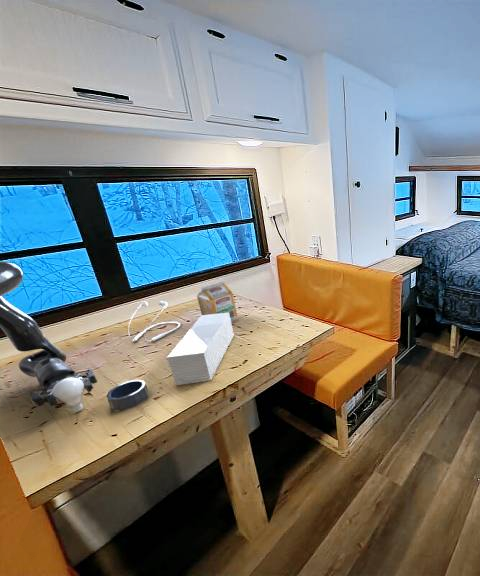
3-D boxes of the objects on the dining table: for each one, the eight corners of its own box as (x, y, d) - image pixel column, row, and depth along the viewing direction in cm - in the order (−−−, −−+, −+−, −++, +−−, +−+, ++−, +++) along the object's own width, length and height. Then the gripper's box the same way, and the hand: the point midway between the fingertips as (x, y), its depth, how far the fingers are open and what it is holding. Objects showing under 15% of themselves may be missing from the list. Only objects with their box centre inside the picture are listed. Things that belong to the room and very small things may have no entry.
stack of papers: (207, 338, 129) (201, 315, 125) (233, 335, 131) (229, 312, 127) (175, 385, 100) (166, 357, 96) (210, 380, 102) (203, 352, 98)
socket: (134, 410, 89) (130, 399, 88) (102, 411, 89) (98, 400, 88) (155, 389, 98) (152, 379, 97) (126, 390, 98) (122, 380, 96)
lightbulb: (59, 414, 88) (44, 383, 84) (87, 400, 93) (73, 370, 90) (70, 421, 85) (54, 389, 82) (97, 406, 91) (84, 376, 87)
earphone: (116, 338, 122) (135, 298, 131) (146, 351, 137) (161, 314, 146) (149, 338, 122) (166, 298, 131) (175, 351, 136) (189, 314, 145)
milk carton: (216, 329, 136) (207, 289, 130) (204, 324, 142) (194, 285, 135) (238, 320, 145) (230, 282, 138) (225, 315, 150) (217, 279, 144)
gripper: (17, 378, 88) (30, 400, 79) (82, 355, 99) (101, 371, 90) (28, 400, 90) (42, 422, 82) (91, 374, 102) (109, 392, 93)
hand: (73, 395), depth 86 cm, fingers closed on lightbulb, 6 cm apart
